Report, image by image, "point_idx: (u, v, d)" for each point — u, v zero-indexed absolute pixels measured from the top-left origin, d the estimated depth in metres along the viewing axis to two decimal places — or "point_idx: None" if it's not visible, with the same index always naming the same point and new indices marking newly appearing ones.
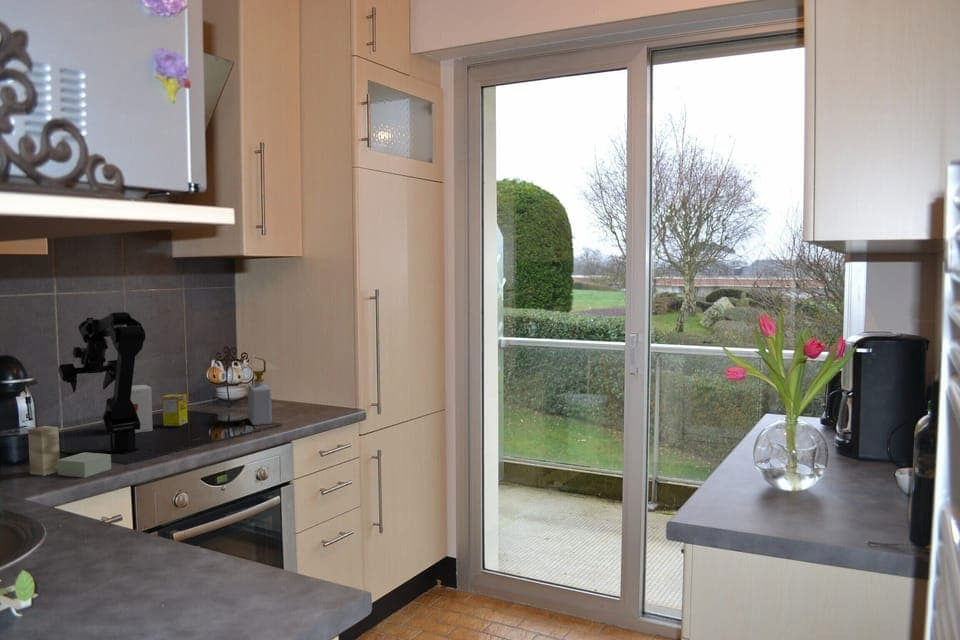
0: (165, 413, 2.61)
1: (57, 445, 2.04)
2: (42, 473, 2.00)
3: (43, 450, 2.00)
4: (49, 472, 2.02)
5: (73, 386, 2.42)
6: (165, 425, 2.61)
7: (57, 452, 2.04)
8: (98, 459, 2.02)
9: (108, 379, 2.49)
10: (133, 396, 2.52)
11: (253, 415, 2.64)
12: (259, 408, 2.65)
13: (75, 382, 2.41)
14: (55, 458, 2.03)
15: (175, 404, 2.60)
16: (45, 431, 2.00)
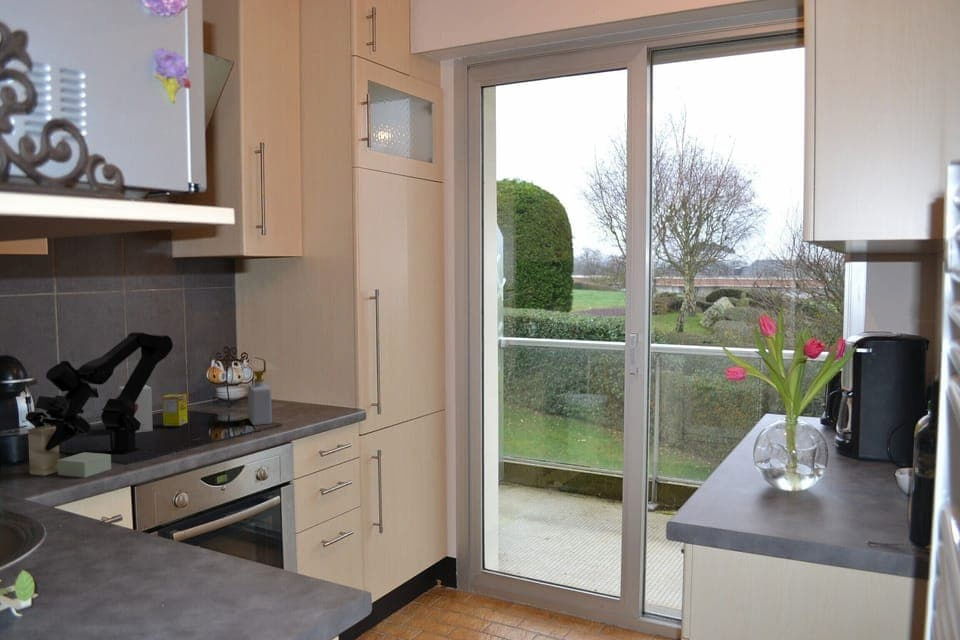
0: (165, 413, 2.61)
1: None
2: (42, 473, 2.00)
3: (43, 450, 2.00)
4: (49, 472, 2.02)
5: None
6: (165, 425, 2.61)
7: (57, 452, 2.04)
8: (98, 459, 2.02)
9: None
10: None
11: (253, 415, 2.64)
12: (259, 408, 2.65)
13: None
14: (55, 458, 2.03)
15: (175, 404, 2.60)
16: (45, 431, 2.00)
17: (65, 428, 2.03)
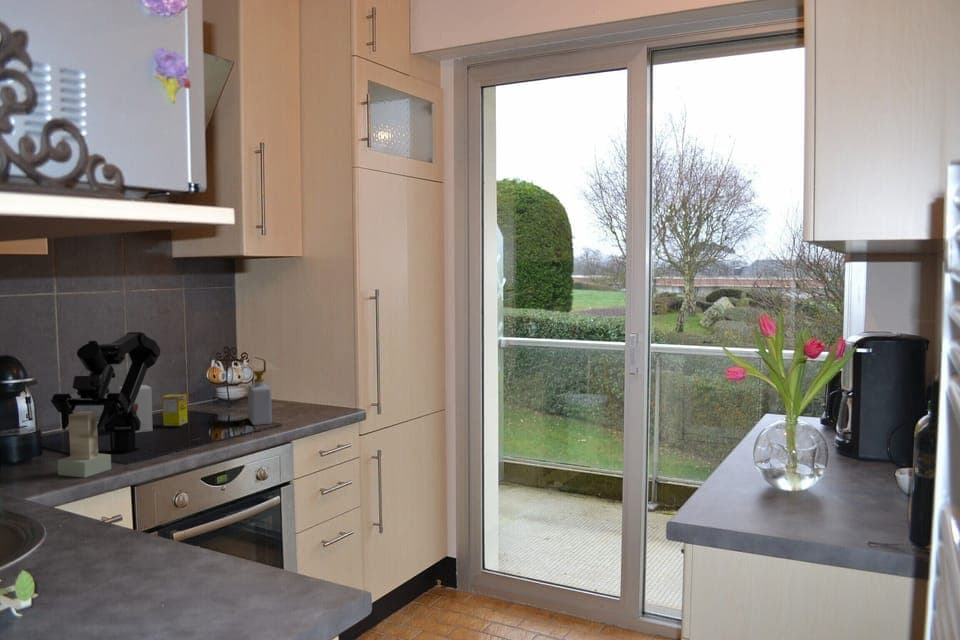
0: (165, 413, 2.61)
1: (96, 429, 2.05)
2: (88, 457, 2.01)
3: (89, 434, 2.01)
4: (92, 456, 2.03)
5: None
6: (165, 425, 2.61)
7: (96, 436, 2.05)
8: (98, 459, 2.02)
9: None
10: None
11: (253, 415, 2.64)
12: (259, 408, 2.65)
13: None
14: (95, 442, 2.05)
15: (175, 404, 2.60)
16: (89, 415, 2.01)
17: (113, 406, 2.05)
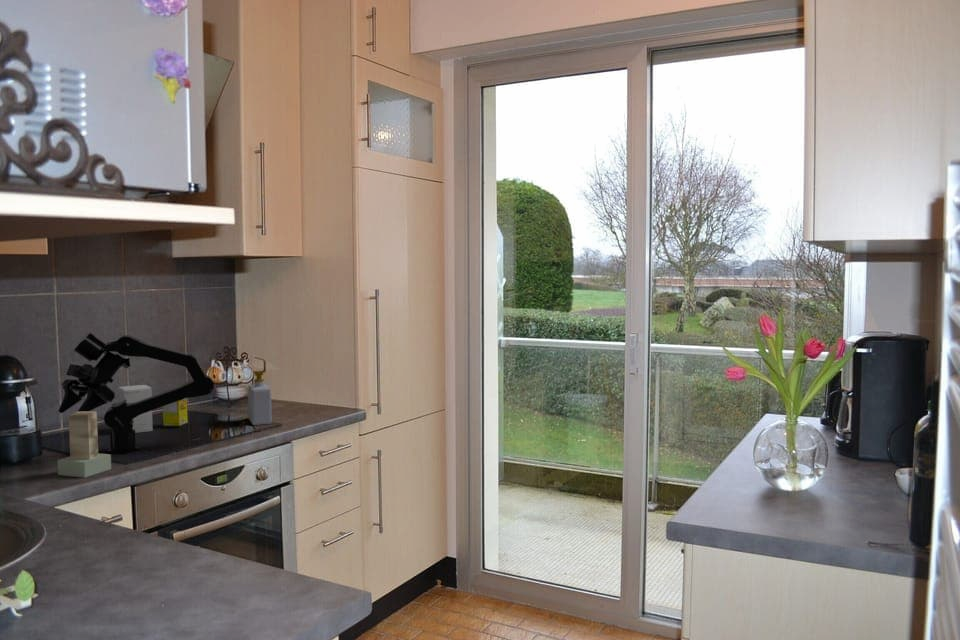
0: (165, 413, 2.61)
1: (96, 429, 2.05)
2: (88, 457, 2.01)
3: (89, 434, 2.01)
4: (92, 456, 2.03)
5: None
6: (165, 425, 2.61)
7: (96, 436, 2.05)
8: (98, 459, 2.02)
9: (75, 401, 2.21)
10: (133, 396, 2.52)
11: (253, 415, 2.64)
12: (259, 408, 2.65)
13: None
14: (95, 442, 2.05)
15: (175, 404, 2.60)
16: (90, 415, 2.01)
17: (95, 395, 2.14)
